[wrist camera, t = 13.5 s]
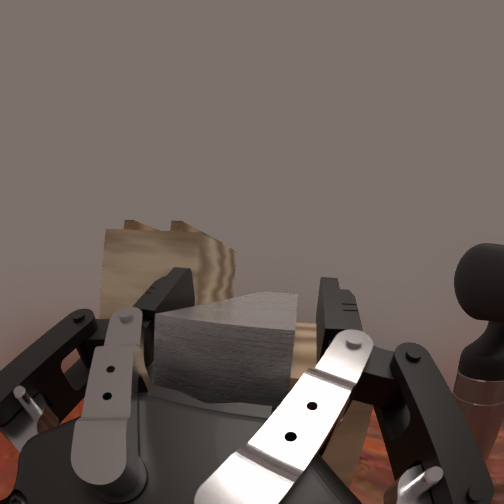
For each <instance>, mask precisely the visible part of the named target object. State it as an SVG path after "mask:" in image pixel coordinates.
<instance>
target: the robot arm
mask: <svg viewBox="0 0 504 504" xmlns="http://www.w3.org/2000/svg"><path fill="white" fill-rule="evenodd" d="M454 288H455V293H456V297H457V300H458V302H459V304H460V306H461V307H462V309H463V310H464V311H465V312H466V313H467V314H468V315H469V316H471V317H472V318H474V319H477V320H487V321H489V323H488V326H487V329H486V330H485V332H484V333H483V334H482V335H481V336H480V337H479V338H478V339H477V340H476V341H474V342H473V343H471V344H470V345H468V346H467V347H465V348H464V350H463V351H462V353H461V356H460V361H459V366H458V371H457V376H456V380H455V384H454V389H453V393H451V391H450V389H449V387H448V385H447V383H446V382H445V380H444V378H443V376H442V374H441V373H440V371H439V369H438V368H437V366H436V364H435V362H434V361H433V359H432V357H431V356H430V354H429V353H428V351H427V350H426V349H425V348H424V347H422V346H421V345H419V344H416V343H403V344H400V345H399V346H398V347H397V348H396V349H395V352H393V351H388V350H384V349H381V348H378V347H375V346H373V341H372V339H371V338H370V336H368V335H367V334H366V333H364V332H363V330H362V325H361V321H360V316H359V312H358V308H357V305H356V299H355V296H354V295H353V294H352V293H351V292H350V291H349V290H341V289H340V288H339V283H338V279H337V278H326V277H321V280H320V288H319V296H318V305H317V315H316V367H315V368H314V369H311V368H309V369H307V370H306V371H305V373H304V374H303V375H302V377H301V378H300V379H299V381H298V382H297V383H296V385H295V386H294V387H293V389H292V390H291V391H290V393H289V394H288V395H287V397H286V398H285V399H284V400H283V402H282V403H281V404H280V405H279V407H278V408H277V409H276V410H275V412H274V413H273V414H272V406H266V405H257V404H249V403H241V402H238V403H212V404H209V403H204V402H202V401H199V400H197V399H195V398H193V397H191V396H188V395H186V394H184V393H182V392H180V391H177V390H172V389H168V388H164V387H160V386H156V385H154V329H155V314H157V313H163V312H168V311H173V310H178V309H183V308H188V307H193V306H194V305H195V293H194V285H193V277H192V271H191V269H190V268H181V267H174V268H173V269H172V270H171V271H170V272H169V273H168V274H167V276H163V277H161V278H159V279H158V280H156V281H155V282H154V283H153V284H152V285H151V286H150V288H148V289H147V290H146V292H145V293H144V294H143V295H142V296H141V297H140V298H139V299H138V301H137V302H136V303H135V304H134V305H133V306H132V307H124V308H121V309H119V310H117V311H115V312H114V313H113V314H112V315H111V317H110V319H95V316H94V313H93V312H92V311H91V310H89V309H79V310H76V311H74V312H72V313H71V314H69V315H68V316H67V317H65V318H64V319H63V320H62V321H60V322H59V323H58V324H57V325H55V326H54V327H53V328H51V329H50V330H49V331H48V332H46V333H45V334H44V335H43V336H41V337H40V338H39V339H38V340H36V341H35V342H34V343H33V344H32V345H30V346H29V347H28V348H27V349H26V350H24V351H23V352H22V353H21V354H20V355H19V356H17V357H16V358H15V359H14V360H13V361H11V363H9V364H8V365H7V366H6V367H5V368H3V369H2V370H1V371H0V432H1V433H2V434H3V435H4V436H5V437H6V438H7V439H8V440H9V441H10V442H11V443H12V444H13V445H14V446H15V447H16V448H17V449H18V451H19V452H20V455H19V461H18V472H17V478H16V482H15V485H14V489H13V491H12V492H11V494H10V495H9V496H8V497H7V498H5V499H3V500H1V501H0V504H362V503H361V502H360V501H359V500H358V498H357V497H356V496H355V495H354V494H353V493H352V492H351V491H350V490H349V488H348V487H347V486H346V485H345V484H344V483H343V482H342V480H341V479H340V478H339V477H338V476H337V475H336V474H335V472H334V471H333V470H332V469H331V468H330V466H329V465H328V464H327V463H326V462H325V461H324V459H323V458H322V457H323V455H324V453H325V452H326V450H327V448H328V447H329V445H330V443H331V441H332V439H333V437H334V435H335V433H336V432H337V430H338V428H339V426H340V424H341V423H342V421H343V419H344V417H345V415H346V413H347V411H348V409H349V407H350V405H351V404H352V402H353V400H354V401H358V402H362V403H366V404H370V405H373V407H374V410H375V413H376V416H377V419H378V423H379V426H380V429H381V433H382V436H383V439H384V443H385V446H386V450H387V453H388V457H389V460H390V464H391V468H392V471H393V475H394V479H395V482H393V483H392V484H391V485H390V486H389V487H388V488H387V490H386V492H385V495H384V504H490V502H491V500H492V497H493V491H494V488H493V483H492V480H491V478H490V475H489V472H488V470H487V467H486V465H485V462H486V460H487V458H488V456H489V454H490V451H491V449H492V447H493V445H494V442H495V440H496V437H497V435H498V432H499V430H500V427H501V425H502V422H503V419H504V245H498V244H490V243H483V244H478V245H476V246H474V247H472V248H471V249H469V250H468V251H467V252H466V253H465V254H464V256H463V257H462V258H461V260H460V262H459V264H458V266H457V269H456V272H455V277H454ZM75 348H76V349H77V351H78V353H79V355H80V357H81V358H80V359H79V360H78V361H77V362H76V363H75V364H74V365H73V366H72V367H70V368H69V369H68V370H67V371H66V372H65V373H64V374H63V372H62V370H61V363H62V360H63V359H64V358H65V357H66V356H67V355H69V354H70V353H71V352H72V351H73V350H74V349H75ZM84 397H85V399H84V405H83V411H82V416H79V417H77V418H75V419H73V420H70V421H68V422H66V423H63V424H61V425H59V424H60V423H61V422H62V420H63V419H64V418H65V417H66V416H67V415H68V414H69V413H70V412H71V411H72V410H73V409H74V407H75V406H76V405H77V404H78V403H79V402H80V401H81V400H82V399H83V398H84Z"/></svg>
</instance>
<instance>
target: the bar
mask: <svg viewBox="0 0 504 504" xmlns="http://www.w3.org/2000/svg"><path fill="white" fill-rule="evenodd" d="M297 301H298V294H290V293H275V292H257V293H254V294H249V295H244V296H240V297H235V298H231V299H226V300H222V301H217V302H212V303H207V304H203V305H198V306H193V307H188V308H183V309H178V310H173V311H168V312H163V313H157V314H155V329H154V385H156V386H160V387H164V388H168V389H172V390H177V391H180V392H182V393H184V394H186V395H188V396H191V397H193V398H195V399H197V400H199V401H202V402H204V403H209V404H212V403H238V402H241V403H249V404H257V405H266V406H272V414H273V413H274V412H275V410H276V409H277V408H278V407H279V405H280V404H281V403H282V402H283V400H284V399H285V398H286V397H287V395H288V392H289V384H290V375H291V366H292V357H293V348H294V337H295V326H296V314H297Z"/></svg>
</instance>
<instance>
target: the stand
mask: <svg viewBox="0 0 504 504" xmlns="http://www.w3.org/2000/svg"><path fill="white" fill-rule="evenodd" d="M236 255H237V252H236V251H234V250H233V249H231V248H229V247H227V246H225V245H223V243H222V242H219V241H218V240H216V239H214V238H212V237H210V236H209V235H207V234H205V233H203V232H201V231H199V230H197V229H196V228H194V227H192V226H190V225H188V224H186V223H184V222H183V221H172V222H171V229H170V231H160V230H157V229H154V228H152V227H149V226H147V225H144V224H141V223H139V222H136V221H134V220H125V223H124V230H118V229H116V230H115V229H106V235H105V243H104V251H103V261H102V262H103V263H102V273H101V288H100V310H99V319H110V317H111V315H112V314H113V313H114V312H115V311H117V310H119V309H121V308H124V307H132V306H133V305H134V304H135V303H136V302H137V301H138V299H139V298H140V297H141V296H142V295H143V294H144V293H145V292H146V290H147V289H148V288H150V286H151V285H152V284H153V283H154V282H155V281H156V280H158V279H159V278H161V277H163V276H167V274H168V273H169V272H170V271H171V270H172V269H173V268H174V267H181V268H190V269H191V271H192V277H193V285H194V293H195V305H194V306H198V305H203V304H207V303H212V302H217V301H222V300H226V299H231V298H233V294H234V280H235V267H236ZM315 367H316V324H313V323H299V322H296V326H295V337H294V348H293V357H292V366H291V375H290V384H289V392H288V394H289V393H290V391H291V390H292V389H293V387H294V386H295V385H296V383H297V382H298V381H299V379H300V378H301V377H302V375H303V374H304V373H305V371H306V370H307V369H309V368H311V369H314V368H315ZM372 408H373V405H370V404H366V403H362V402H358V401H354V400H353V402H352V404H351V405H350V407H349V409H348V411H347V413H346V415H345V417H344V419H343V421H342V423H341V424H340V426H339V428H338V430H337V432H336V433H335V435H334V437H333V439H332V441H331V443H330V445H329V447H328V448H327V450H326V452H325V453H324V455H323V457H322V458H323V459H324V461H325V462H326V463H327V464H328V465H329V466H330V468H331V469H332V470H333V471H334V472H335V474H336V475H337V476H338V477H339V478H340V479H341V480H342V482H343V483H344V484H345V485H346V486H347V487H348V488H349V487H350V485H351V482H352V479H353V476H354V473H355V470H356V467H357V464H358V461H359V457H360V454H361V451H362V447H363V444H364V440H365V437H366V433H367V429H368V425H369V421H370V417H371V413H372Z"/></svg>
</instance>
